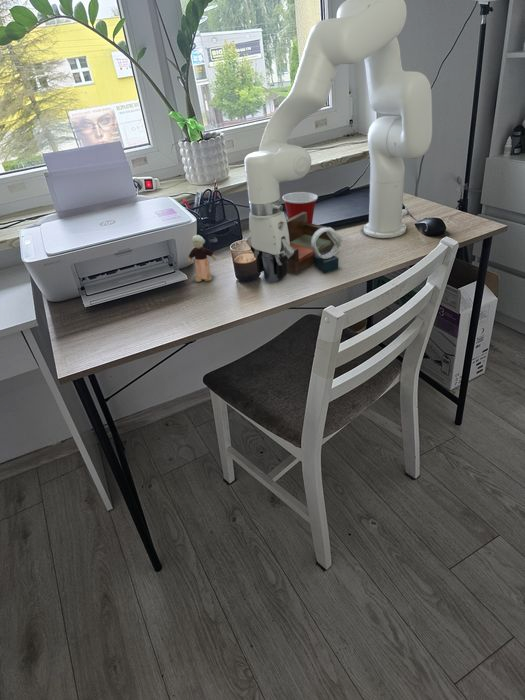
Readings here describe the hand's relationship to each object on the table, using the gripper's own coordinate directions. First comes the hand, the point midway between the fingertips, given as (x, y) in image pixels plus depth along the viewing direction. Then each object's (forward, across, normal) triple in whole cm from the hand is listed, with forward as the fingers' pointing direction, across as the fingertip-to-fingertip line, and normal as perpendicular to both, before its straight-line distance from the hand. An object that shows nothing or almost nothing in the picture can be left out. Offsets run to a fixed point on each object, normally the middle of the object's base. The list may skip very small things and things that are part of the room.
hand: (272, 273), depth 122 cm
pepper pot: (+2, 0, 0) cm, 2 cm away
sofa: (+2, +2, -14) cm, 14 cm away
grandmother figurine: (+2, +16, +10) cm, 19 cm away
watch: (+2, -8, -13) cm, 15 cm away
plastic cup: (+2, +13, -28) cm, 31 cm away
